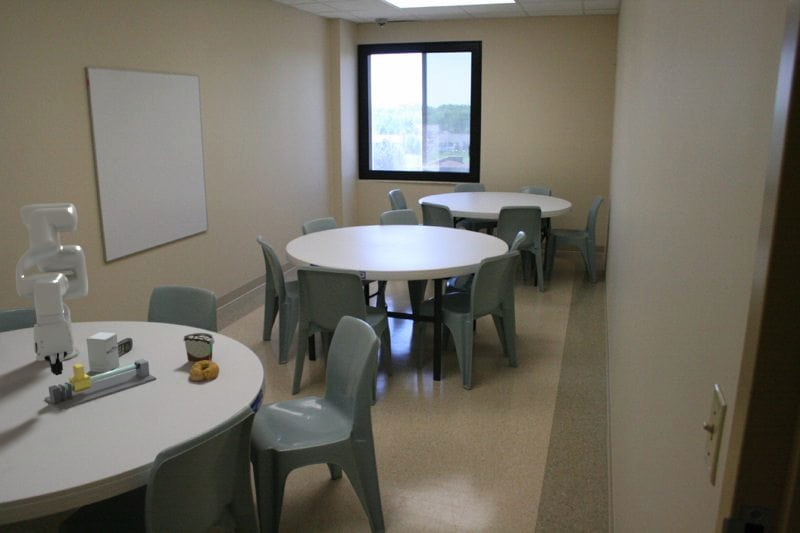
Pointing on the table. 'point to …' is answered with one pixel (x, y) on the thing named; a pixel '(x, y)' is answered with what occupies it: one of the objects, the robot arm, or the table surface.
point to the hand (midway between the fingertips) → (57, 373)
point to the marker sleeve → (80, 379)
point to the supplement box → (103, 352)
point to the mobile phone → (124, 346)
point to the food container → (199, 347)
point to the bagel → (204, 371)
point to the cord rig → (100, 385)
